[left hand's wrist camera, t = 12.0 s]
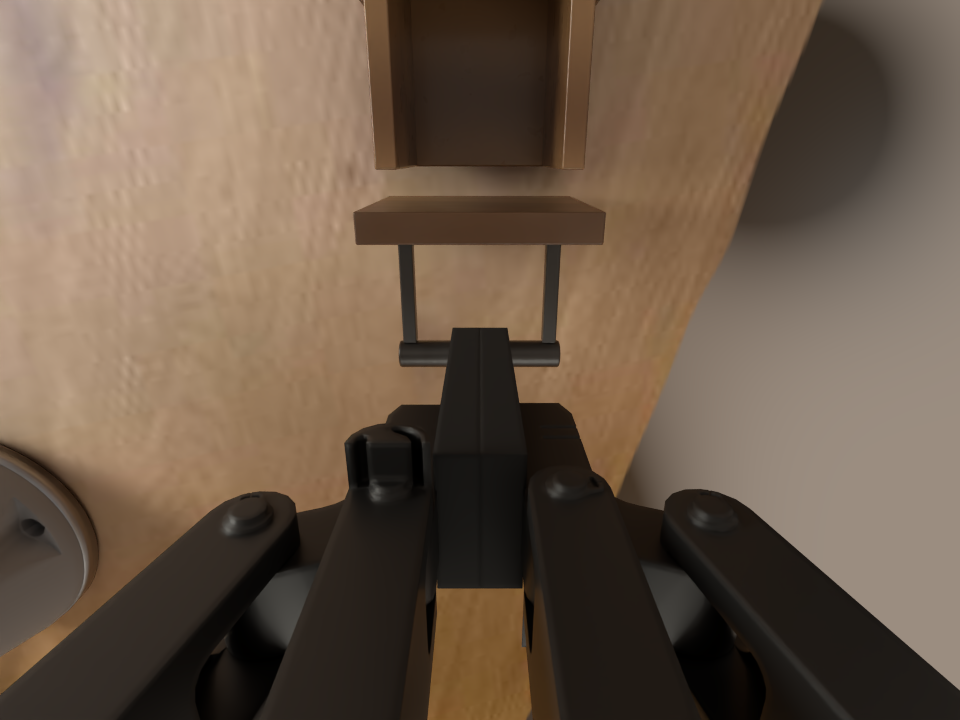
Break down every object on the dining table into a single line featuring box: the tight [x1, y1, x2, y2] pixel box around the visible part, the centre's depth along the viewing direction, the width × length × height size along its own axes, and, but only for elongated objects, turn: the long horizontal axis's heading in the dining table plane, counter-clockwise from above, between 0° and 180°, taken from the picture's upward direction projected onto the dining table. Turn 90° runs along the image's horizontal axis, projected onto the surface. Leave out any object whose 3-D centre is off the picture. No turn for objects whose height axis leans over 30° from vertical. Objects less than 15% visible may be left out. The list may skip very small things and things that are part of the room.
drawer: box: [353, 0, 606, 367], centre depth 21 cm, size 26×9×8 cm, turn 0°
